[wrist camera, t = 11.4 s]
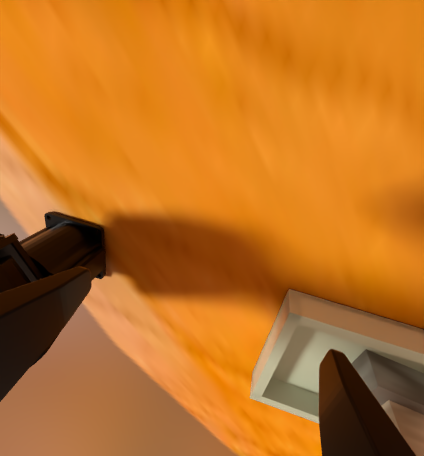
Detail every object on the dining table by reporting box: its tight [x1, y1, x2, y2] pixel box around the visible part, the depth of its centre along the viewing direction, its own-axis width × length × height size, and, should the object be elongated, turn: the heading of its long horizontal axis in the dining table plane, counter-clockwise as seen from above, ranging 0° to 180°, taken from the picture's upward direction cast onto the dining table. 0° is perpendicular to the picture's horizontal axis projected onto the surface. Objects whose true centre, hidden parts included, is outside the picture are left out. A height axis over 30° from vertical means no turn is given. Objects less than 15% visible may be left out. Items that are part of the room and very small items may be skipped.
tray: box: [250, 289, 424, 423], centre depth 24 cm, size 16×13×3 cm
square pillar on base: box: [351, 349, 424, 456], centre depth 19 cm, size 6×5×12 cm
